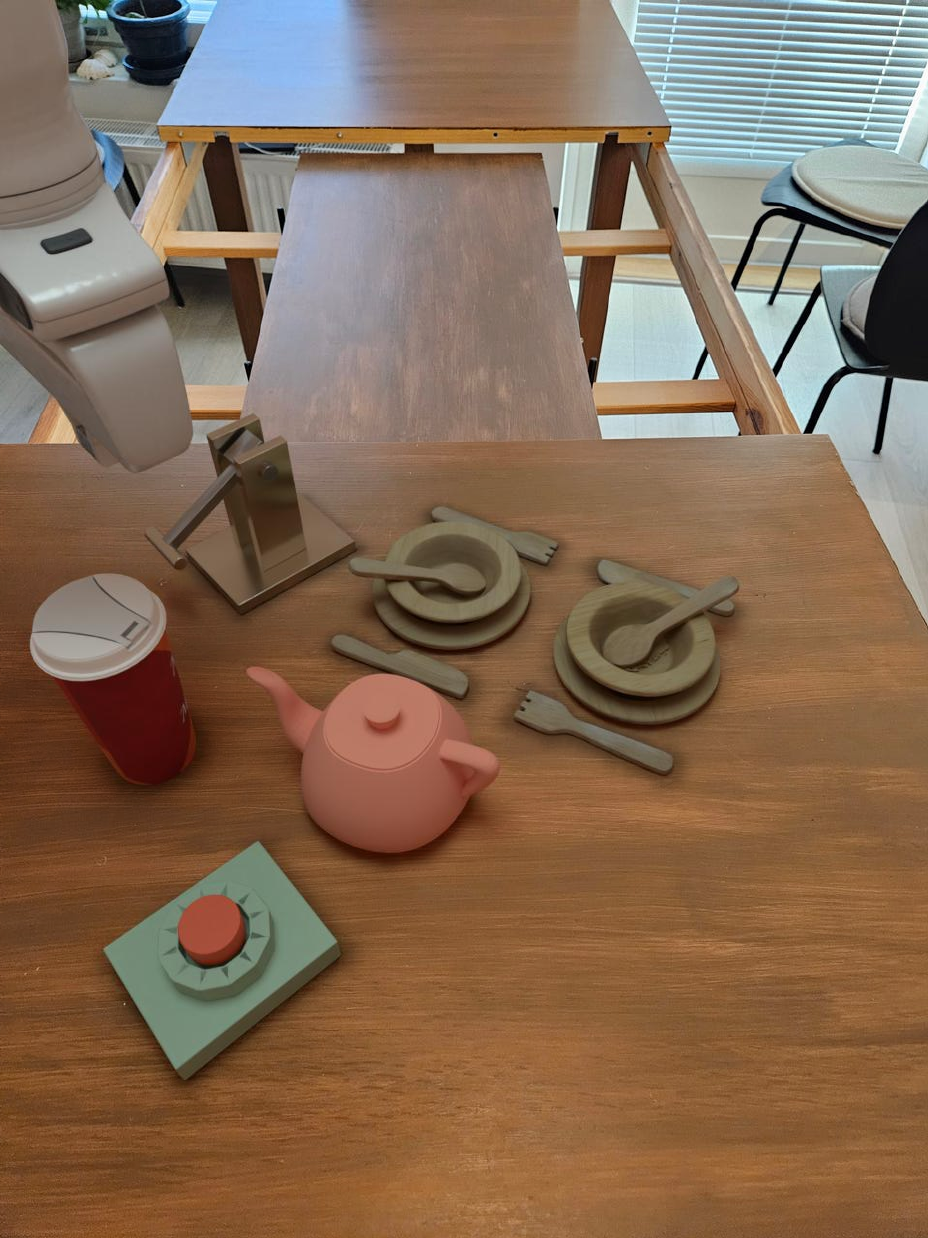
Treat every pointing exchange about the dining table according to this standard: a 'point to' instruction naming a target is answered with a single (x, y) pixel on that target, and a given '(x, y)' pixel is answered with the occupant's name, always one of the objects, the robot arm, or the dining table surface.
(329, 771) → the teapot
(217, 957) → the button
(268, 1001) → the button box
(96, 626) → the coffee cup
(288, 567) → the metal lever stand
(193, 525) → the lever
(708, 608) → the tableware set
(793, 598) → the dining table surface
